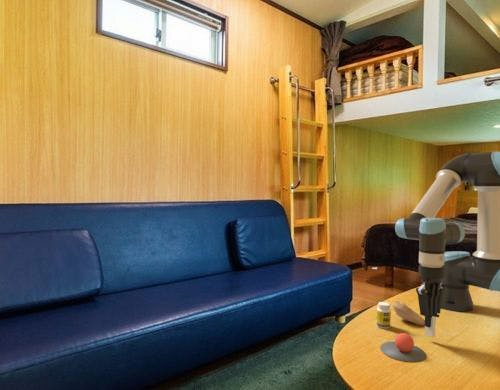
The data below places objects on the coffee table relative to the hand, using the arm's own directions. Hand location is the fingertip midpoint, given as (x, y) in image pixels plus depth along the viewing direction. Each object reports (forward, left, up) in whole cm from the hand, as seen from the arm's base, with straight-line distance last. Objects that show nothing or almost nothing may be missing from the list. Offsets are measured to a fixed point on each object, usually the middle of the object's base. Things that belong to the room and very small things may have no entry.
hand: (429, 335), depth 116 cm
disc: (+13, +5, -2) cm, 14 cm away
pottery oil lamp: (-3, -16, -2) cm, 17 cm away
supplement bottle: (+8, -14, -2) cm, 16 cm away
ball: (+13, +5, +1) cm, 14 cm away
